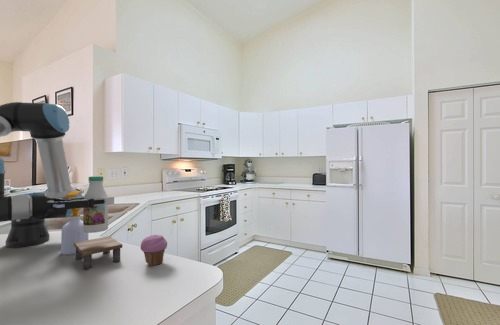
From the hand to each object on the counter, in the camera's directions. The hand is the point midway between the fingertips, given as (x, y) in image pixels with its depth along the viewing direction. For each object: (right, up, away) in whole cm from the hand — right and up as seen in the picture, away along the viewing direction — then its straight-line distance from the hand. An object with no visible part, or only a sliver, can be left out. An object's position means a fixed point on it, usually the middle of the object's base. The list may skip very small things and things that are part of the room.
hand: (110, 199), depth 94 cm
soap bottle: (-18, -23, +7) cm, 30 cm away
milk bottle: (-3, -11, -4) cm, 12 cm away
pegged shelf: (-3, -22, -3) cm, 22 cm away
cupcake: (+20, -22, -8) cm, 30 cm away
